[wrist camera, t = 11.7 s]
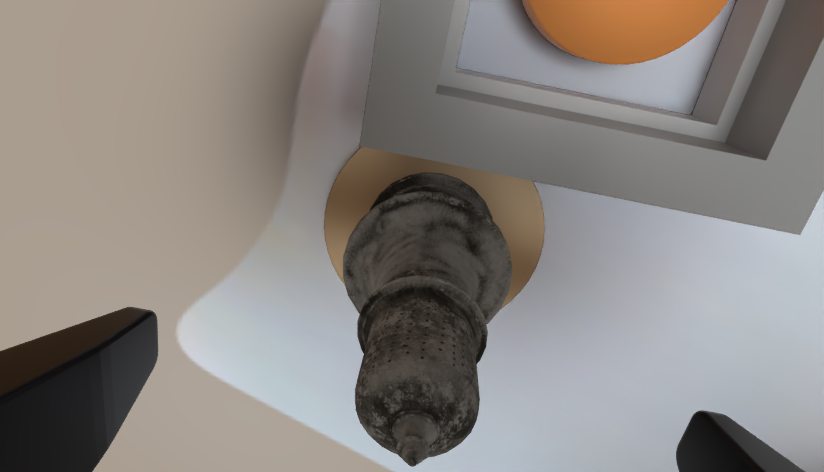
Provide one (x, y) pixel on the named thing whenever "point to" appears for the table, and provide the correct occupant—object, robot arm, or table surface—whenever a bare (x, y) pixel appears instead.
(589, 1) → the button
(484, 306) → the salt shaker
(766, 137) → the breaker guard
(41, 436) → the robot arm
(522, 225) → the coaster
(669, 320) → the table surface
